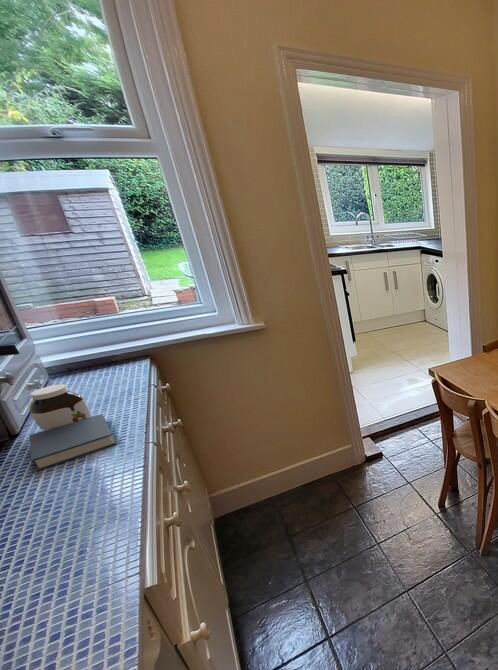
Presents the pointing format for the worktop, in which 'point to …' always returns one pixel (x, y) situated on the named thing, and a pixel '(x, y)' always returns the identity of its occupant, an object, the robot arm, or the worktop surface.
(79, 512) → the worktop surface
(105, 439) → the book
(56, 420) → the spread jar
